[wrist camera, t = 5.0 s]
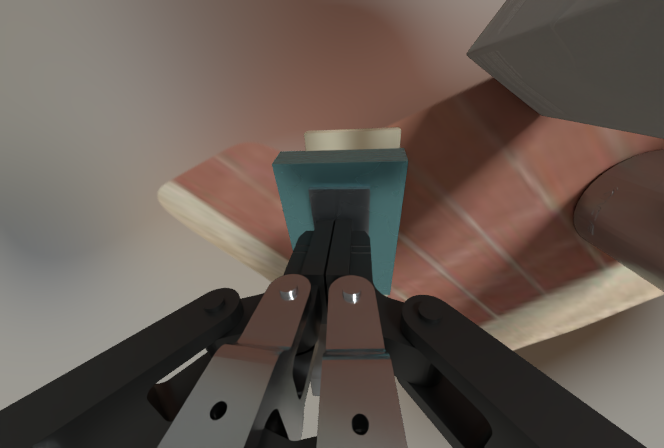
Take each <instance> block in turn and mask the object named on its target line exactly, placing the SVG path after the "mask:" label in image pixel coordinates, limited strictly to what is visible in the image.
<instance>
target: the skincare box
mask: <svg viewBox="0 0 664 448" xmlns="http://www.w3.org/2000/svg"><path fill="white" fill-rule="evenodd" d="M467 56H468V57H469V58H470V59H472V60H473V61H474V62H475V63H477V64H478V65H479V66H480V67H482V68H483V69H484V70H485V71H486V72H488V73H489V74H490V75H491V76H492V77H494V78H495V79H496V80H497V81H499V82H500V83H501V84H502V85H504V86H505V87H506V88H507V89H509V90H510V91H511V92H512V93H514V94H515V95H516V96H517V97H518V98H520V99H521V100H522V101H523V102H525V103H526V104H527V105H529V106H530V107H531V108H532V109H534V110H535V111H536V112H537V113H539V114H540V115H542V116H547V117H552V118H558V119H563V120H569V121H574V122H579V123H584V124H589V125H595V126H600V127H605V128H610V129H616V130H621V131H626V132H632V133H637V134H642V135H647V136H652V137H657V138H662V139H664V0H506V2H505V3H504V4H503V6H502V7H501V8H500V10H499V11H498V12H497V14H496V15H495V16H494V18H493V19H492V20H491V21H490V23H489V24H488V25H487V27H486V28H485V30H484V31H483V32H482V33H481V35H480V36H479V37H478V39H477V40H476V41H475V43H474V44H473V45H472V47H471V48H470V49H469V51H468V52H467Z"/></svg>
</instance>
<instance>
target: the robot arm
mask: <svg viewBox="0 0 664 448" xmlns="http://www.w3.org/2000/svg"><path fill="white" fill-rule="evenodd" d="M574 225H575V229H576V230H577V232H578V233H579V235H580V236H581V237H583V238H584V239H585V240H587V241H588V242H590V243H591V244H593V245H594V246H596V247H597V248H599V249H600V250H602V251H603V252H605V253H606V254H608V255H609V256H611V257H612V258H614V259H615V260H617V261H618V262H620V263H621V264H623V265H624V266H626V267H627V268H629V269H630V270H632V271H633V272H635V273H636V274H638V275H639V276H641V277H642V278H644V279H645V280H647V281H648V282H650V283H651V284H653V285H654V286H656V287H657V288H659V289H660V290H662V291H663V292H664V150H657V151H652V152H646V153H643V154H640V155H637V156H634V157H631V158H629V159H627V160H625V161H623V162H621V163H619V164H617V165H615V166H614V167H612V168H611V169H609V170H608V171H606V172H605V173H603V174H602V175H601V176H600V177H598V178H597V179H596V180H595V181H594V182H593V183H592V184H591V185H590V186H589V187H588V188H587V189H586V191H585V192H584V193H583V195H582V196H581V198H580V200H579V201H578V203H577V206H576V209H575V211H574ZM321 324H327V333H326V350H325V353H323V358H322V369H321V384H320V402H319V416H318V431H317V436H316V437H311V438H307V439H303V440H301V436H302V429H303V420H304V406H305V401H306V396H307V392H308V388H309V384H310V380H311V375H312V371H313V367H314V363H315V358H316V354H317V350H318V346H319V333H320V327H321ZM205 348H206V350H207V351H208V352H207V353H206V354H205V355H203V356H201V357H200V358H199V359H197V360H196V361H195V362H193V363H192V364H190V365H189V366H188V367H186V368H185V369H183V370H182V371H181V372H179V373H178V374H176V375H175V376H174V377H172V378H171V379H169V380H168V381H166V382H163V383H160V384H155V383H157V382H158V381H159V380H161V379H162V378H164V377H165V376H166V375H168V374H169V373H171V372H172V371H174V370H175V369H176V368H178V367H179V366H180V365H182V364H183V363H185V362H186V361H188V360H189V359H191V358H192V357H193V356H194V355H196V354H197V353H199V352H200V351H202V350H203V349H205ZM394 376H396V377H397V379H398V381H399V383H400V384H401V386H402V387H403V388H404V389H405V390H406V392H407V393H408V394H409V395H410V397H411V398H412V399H413V400H414V401H415V402H416V404H417V405H418V406H419V407H420V409H421V410H422V411H423V412H424V413H425V415H426V416H427V417H428V418H429V419H430V420H431V422H432V423H433V424H434V425H435V427H436V428H437V429H438V430H439V431H440V433H441V434H442V435H443V436H444V437H445V439H446V440H447V441H448V442H449V444H450V445H451V446H452V447H453V448H646V447H645V446H644V445H642V444H641V443H640V442H638V441H637V440H635V439H634V438H633V437H631V436H630V435H629V434H627V433H626V432H624V431H623V430H621V429H620V428H619V427H617V426H616V425H615V424H613V423H611V422H610V421H609V420H608V419H606V418H605V417H604V416H602V415H601V414H599V413H598V412H597V411H595V410H594V409H592V408H591V407H590V406H588V405H587V404H586V403H584V402H582V401H581V400H580V399H579V398H577V397H576V396H574V395H573V394H572V393H570V392H569V391H568V390H566V389H565V388H563V387H562V386H560V385H559V384H558V383H556V382H555V381H554V380H552V379H551V378H549V377H548V376H546V375H545V374H544V373H543V372H541V371H540V370H538V369H537V368H536V367H534V366H533V365H531V364H530V363H529V362H527V361H526V360H525V359H523V358H522V357H520V356H519V355H518V354H516V353H515V352H513V351H512V350H511V349H509V348H508V347H507V346H505V345H504V344H502V343H501V342H500V341H498V340H497V339H495V338H494V337H493V336H491V335H490V334H489V333H487V332H486V331H484V330H483V329H482V328H480V327H479V326H477V325H476V324H475V323H473V322H472V321H471V320H469V319H468V318H466V317H465V316H464V315H462V314H461V313H459V312H458V311H457V310H455V309H454V308H453V307H451V306H450V305H448V304H447V303H446V302H444V301H442V300H440V299H438V298H436V297H433V296H429V295H416V296H413V297H411V298H409V299H407V300H406V301H405V303H404V302H401V301H397V300H394V299H391V298H388V297H386V296H385V295H383V294H382V293H380V292H379V291H378V290H377V289H376V287H375V286H374V283H373V276H372V260H371V245H370V237H369V236H368V234H367V233H366V232H365V231H353V220H352V219H336V221H335V220H317V223H316V227H315V230H314V231H305V232H304V233H303V234H302V235H301V236H300V237H299V238H298V240H297V243H296V246H295V248H294V250H293V253H292V255H291V258H290V260H289V263H288V265H287V267H286V270H285V272H284V275H283V276H281V277H279V278H277V279H275V280H274V281H273V282H272V283H271V284H270V285H269V287H268V288H267V290H266V292H265V293H263V294H259V295H256V296H251V297H247V298H242V299H240V297H239V294H238V293H237V292H236V291H235V290H233V289H230V288H221V289H216V290H213V291H211V292H208V293H207V294H205V295H203V296H201V297H199V298H198V299H196V300H194V301H193V302H191V303H189V304H187V305H185V306H184V307H182V308H180V309H178V310H177V311H175V312H173V313H171V314H169V315H168V316H166V317H165V318H162V319H161V320H159V321H157V322H155V323H154V324H152V325H150V326H148V327H147V328H145V329H143V330H141V331H140V332H138V333H136V334H135V335H133V336H131V337H129V338H127V339H126V340H124V341H122V342H120V343H119V344H117V345H115V346H113V347H112V348H110V349H108V350H106V351H105V352H103V353H101V354H99V355H97V356H96V357H94V358H92V359H90V360H89V361H87V362H85V363H83V364H82V365H80V366H78V367H76V368H75V369H73V370H71V371H69V372H68V373H66V374H64V375H62V376H61V377H59V378H57V379H55V380H53V381H52V382H50V383H48V384H46V385H45V386H43V387H41V388H40V389H38V390H36V391H34V392H32V393H31V394H29V395H27V396H25V397H24V398H22V399H20V400H18V401H17V402H15V403H13V404H11V405H10V406H8V407H6V408H4V409H3V410H1V411H0V448H408V446H407V441H406V436H405V431H404V425H403V420H402V415H401V410H400V404H399V399H398V393H397V388H396V383H395V378H394Z"/></svg>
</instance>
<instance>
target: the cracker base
mask: <svg viewBox="0 0 664 448" xmlns="http://www.w3.org/2000/svg"><path fill="white" fill-rule="evenodd" d="M304 137H305V147H306V151H321V150H355V149H389V148H400V138H401V129H400V128H399V127H396V128H374V129H347V130H325V131H324V130H323V131H307V132H306V133H304ZM385 296H386V297H387V296H388V295H385ZM326 333H327V324H321V327H320V333H319V346H318V350H317V354H316V358H315V363H314V367H313V371H312V375H311V380H310V382H311V388H312V393H313V395H314V396H320V384H321V369H322V358H323V353H325V350H326Z"/></svg>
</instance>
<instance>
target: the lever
mask: <svg viewBox="0 0 664 448" xmlns="http://www.w3.org/2000/svg"><path fill="white" fill-rule="evenodd" d="M272 166H273V171H274V175H275V179H276V183H277V187H278V191H279V195H280V199H281V203H282V207H283V211H284V216H285V220H286V224H287V228H288V232H289V236H290V240H291V244H292V248H293V250H294V248H295V246H296V243H297V240H298V238H299V237H300V236H301V235H302V234H303V233H304V232H305V231H314V230H315V227H316V223H317V220H335V221H336V219H352V220H353V231H365V232H366V233H367V234H368V236H369V237H370V245H371V260H372V276H373V283H374V286H375V287H376V289H377V290H378V291H379V292H380V293H382V294H383V295H390V290H391V283H392V275H393V268H394V261H395V254H396V246H397V239H398V232H399V225H400V218H401V210H402V203H403V196H404V189H405V181H406V174H407V167H408V159H407V156H406V153H405V150H404V148H389V149H355V150H321V151H289V152H288V151H287V152H280V153H279V155H278V156H277V158H276V159H275V160H274V162H273V163H272Z"/></svg>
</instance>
